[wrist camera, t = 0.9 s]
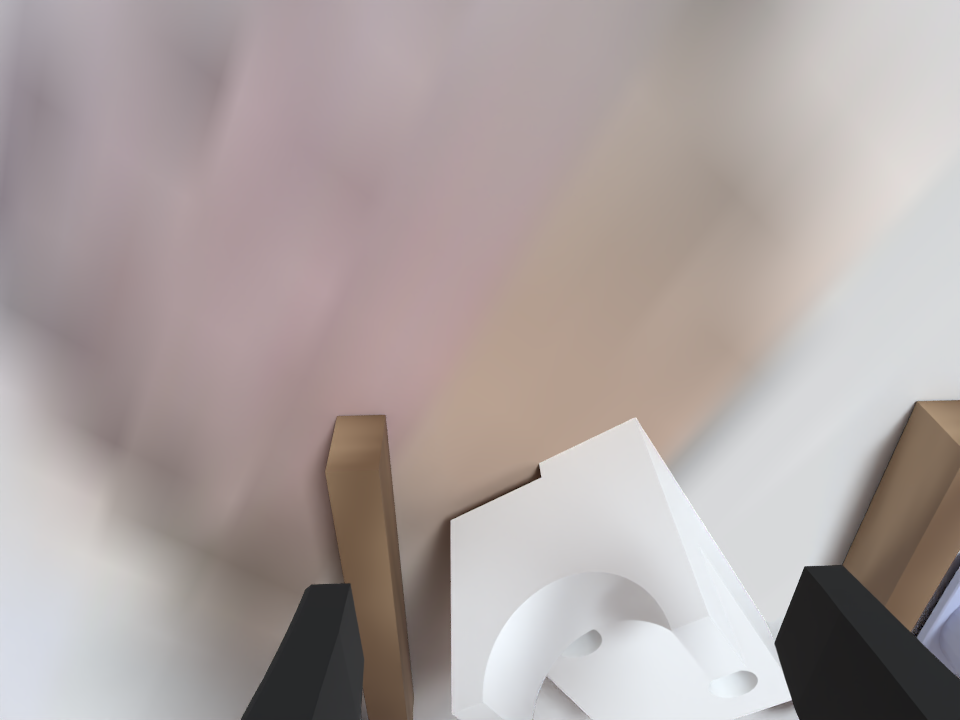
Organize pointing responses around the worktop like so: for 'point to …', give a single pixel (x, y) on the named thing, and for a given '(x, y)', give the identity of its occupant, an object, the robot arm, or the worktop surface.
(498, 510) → the bracket
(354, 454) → the brown rectangular beams
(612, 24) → the worktop surface
